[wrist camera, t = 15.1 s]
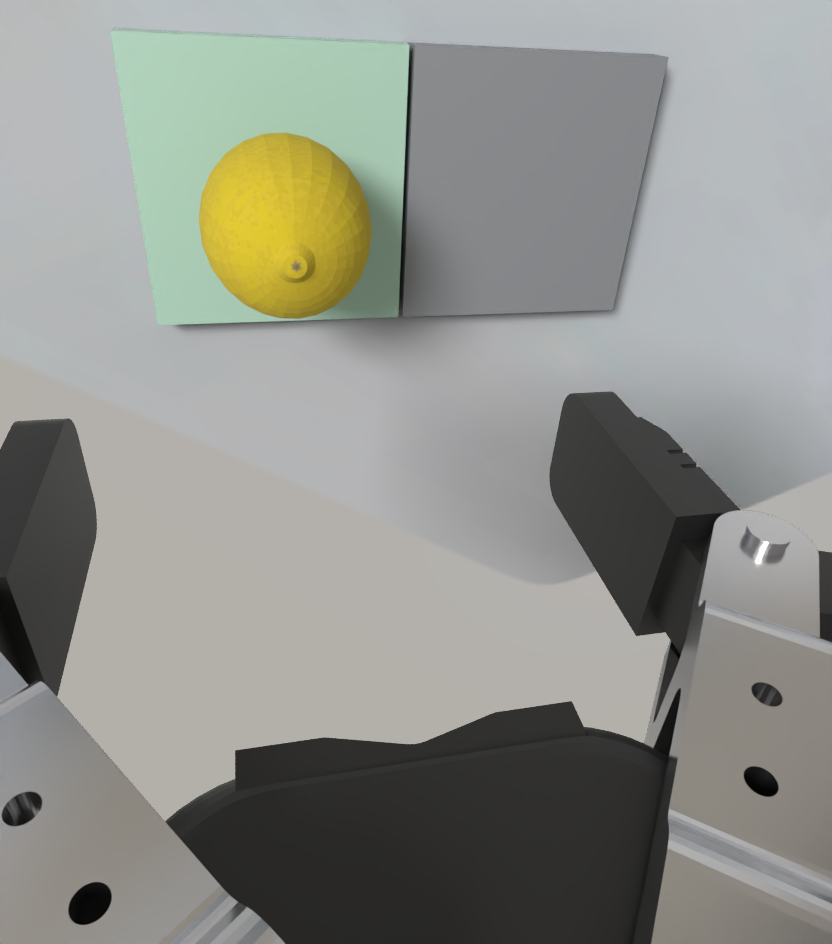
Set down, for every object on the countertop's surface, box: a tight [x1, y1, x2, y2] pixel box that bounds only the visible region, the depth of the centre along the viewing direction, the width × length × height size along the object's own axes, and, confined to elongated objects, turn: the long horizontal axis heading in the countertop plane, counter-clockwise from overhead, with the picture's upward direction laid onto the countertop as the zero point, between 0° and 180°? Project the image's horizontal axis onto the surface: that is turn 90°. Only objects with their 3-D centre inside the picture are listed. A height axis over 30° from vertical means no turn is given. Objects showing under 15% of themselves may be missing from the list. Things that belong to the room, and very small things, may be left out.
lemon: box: [199, 133, 372, 319], centre depth 23 cm, size 6×6×8 cm
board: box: [110, 28, 668, 325], centre depth 28 cm, size 20×10×1 cm, turn 87°
